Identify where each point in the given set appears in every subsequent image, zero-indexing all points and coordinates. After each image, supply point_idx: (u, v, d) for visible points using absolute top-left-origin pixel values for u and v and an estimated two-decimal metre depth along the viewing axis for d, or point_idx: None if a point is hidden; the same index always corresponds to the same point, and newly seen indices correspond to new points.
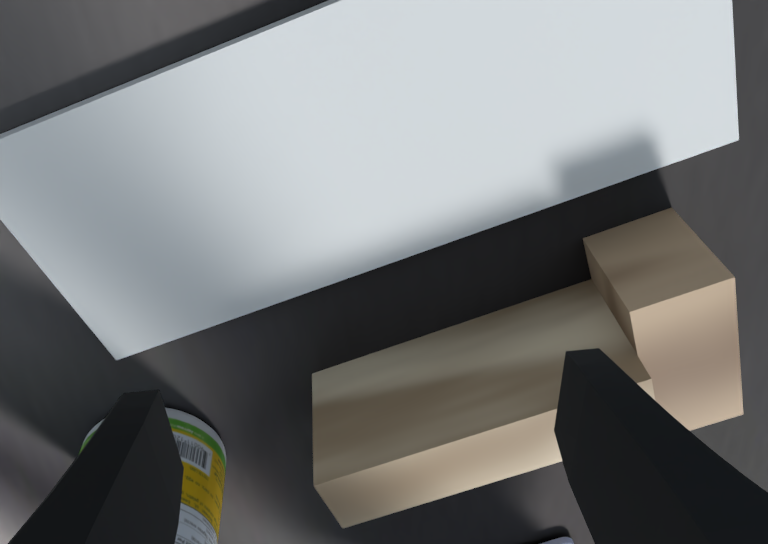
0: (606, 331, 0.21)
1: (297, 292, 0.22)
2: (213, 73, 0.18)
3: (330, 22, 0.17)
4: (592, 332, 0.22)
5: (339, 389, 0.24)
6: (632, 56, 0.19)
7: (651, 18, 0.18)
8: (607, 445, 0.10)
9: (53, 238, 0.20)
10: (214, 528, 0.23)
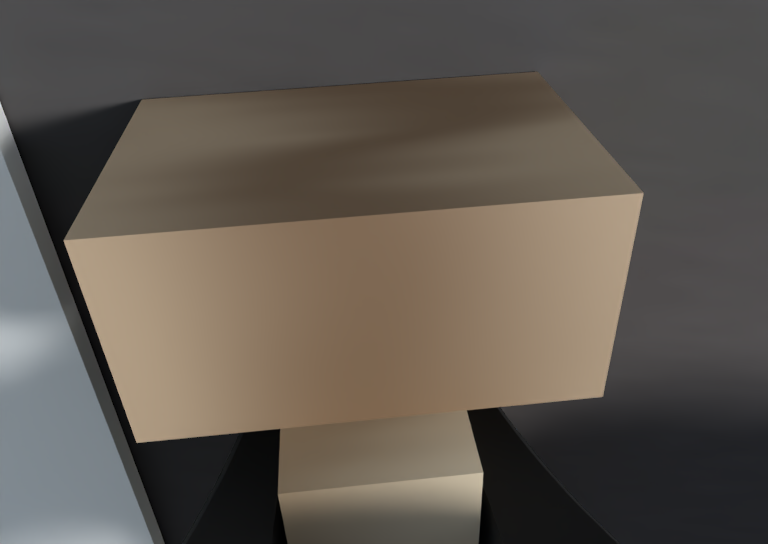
0: None
1: None
2: None
3: None
4: None
5: None
6: None
7: None
8: None
9: None
10: None
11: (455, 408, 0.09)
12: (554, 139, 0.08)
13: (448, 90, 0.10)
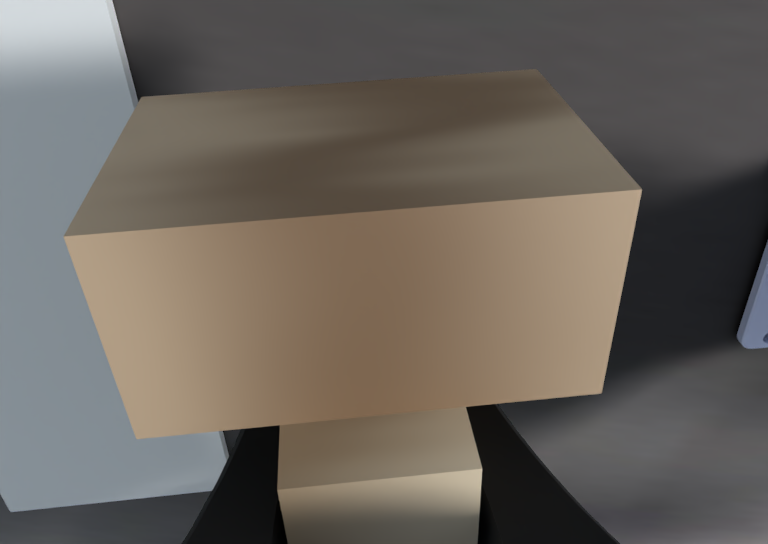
0: None
1: None
2: None
3: None
4: None
5: None
6: None
7: None
8: None
9: (91, 485, 0.24)
10: None
11: (454, 404, 0.09)
12: (553, 136, 0.08)
13: (447, 87, 0.10)
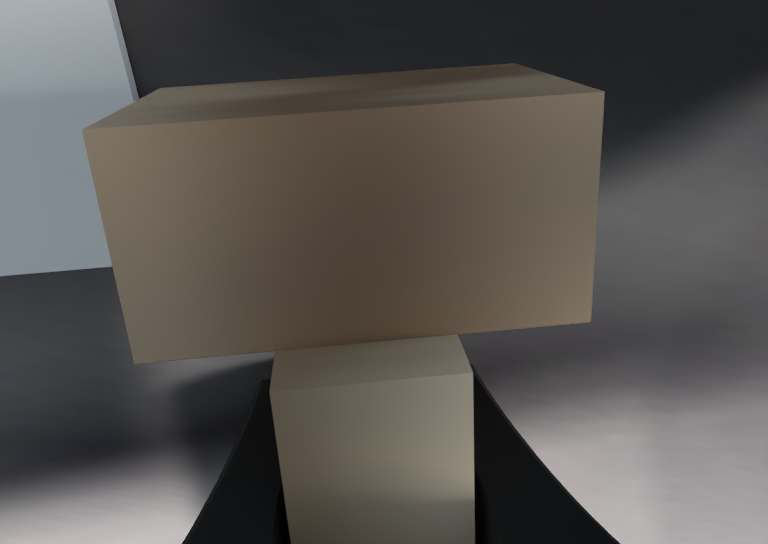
0: None
1: (105, 18, 0.15)
2: None
3: None
4: None
5: None
6: None
7: None
8: None
9: None
10: None
11: (446, 330, 0.09)
12: (527, 81, 0.09)
13: (434, 72, 0.11)
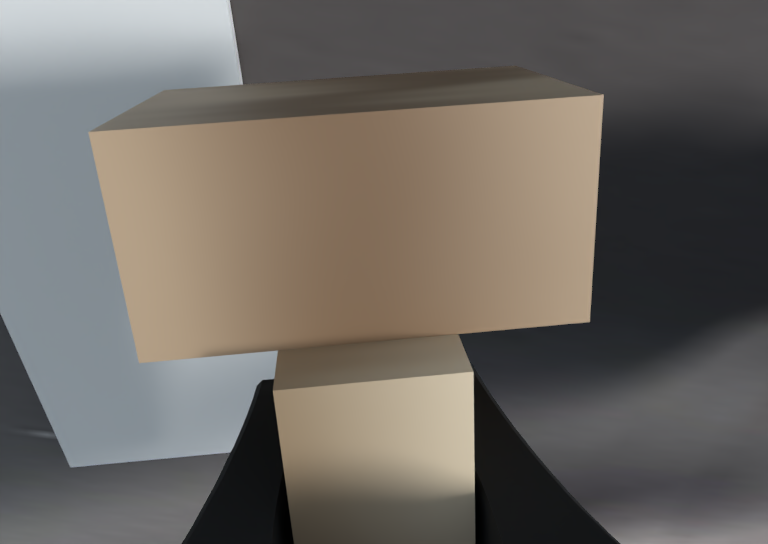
0: None
1: None
2: (8, 292, 0.20)
3: None
4: None
5: None
6: None
7: None
8: None
9: (155, 440, 0.23)
10: None
11: (446, 330, 0.09)
12: (526, 83, 0.09)
13: (434, 74, 0.11)
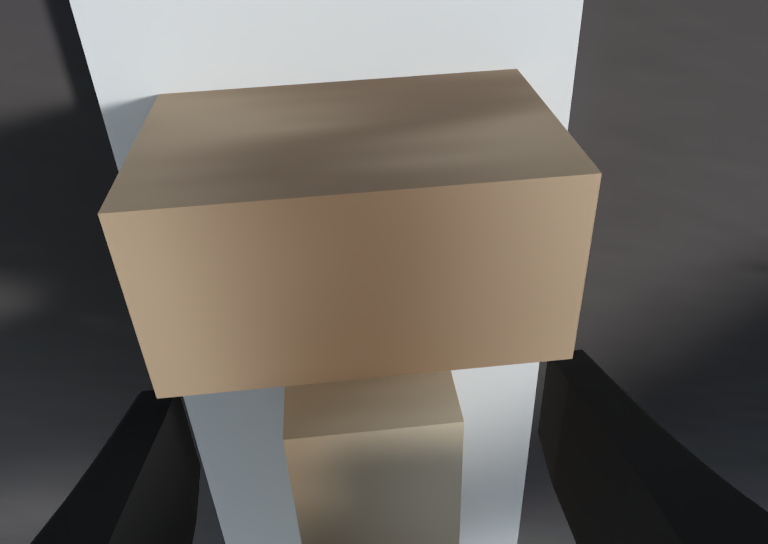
0: None
1: (525, 430, 0.17)
2: (216, 435, 0.16)
3: None
4: None
5: None
6: None
7: None
8: (588, 446, 0.10)
9: None
10: None
11: (440, 368, 0.10)
12: (527, 128, 0.09)
13: (435, 85, 0.11)
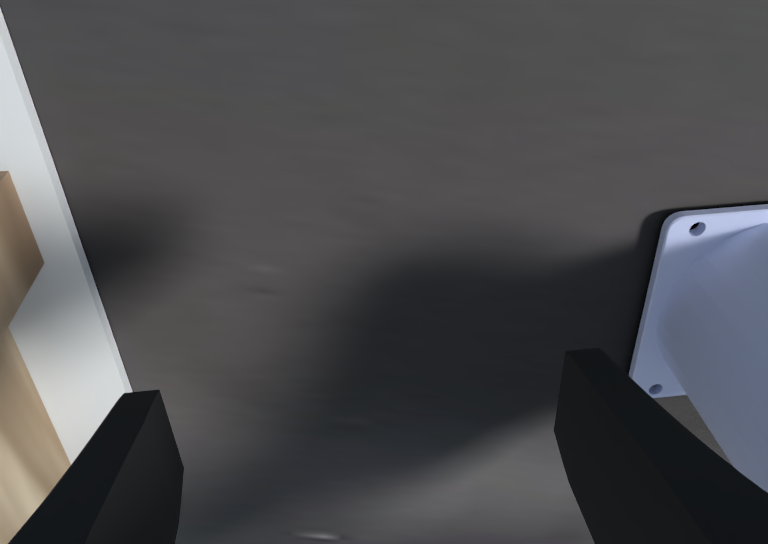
0: None
1: None
2: None
3: None
4: None
5: None
6: None
7: None
8: (607, 445, 0.10)
9: None
10: None
11: None
12: None
13: None
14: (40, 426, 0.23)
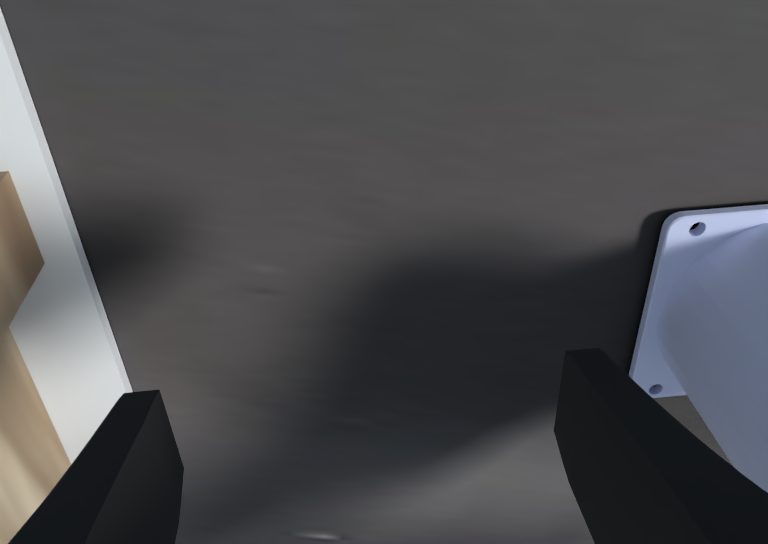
0: None
1: None
2: None
3: None
4: None
5: None
6: None
7: None
8: (607, 445, 0.10)
9: None
10: None
11: None
12: None
13: None
14: (40, 426, 0.23)
